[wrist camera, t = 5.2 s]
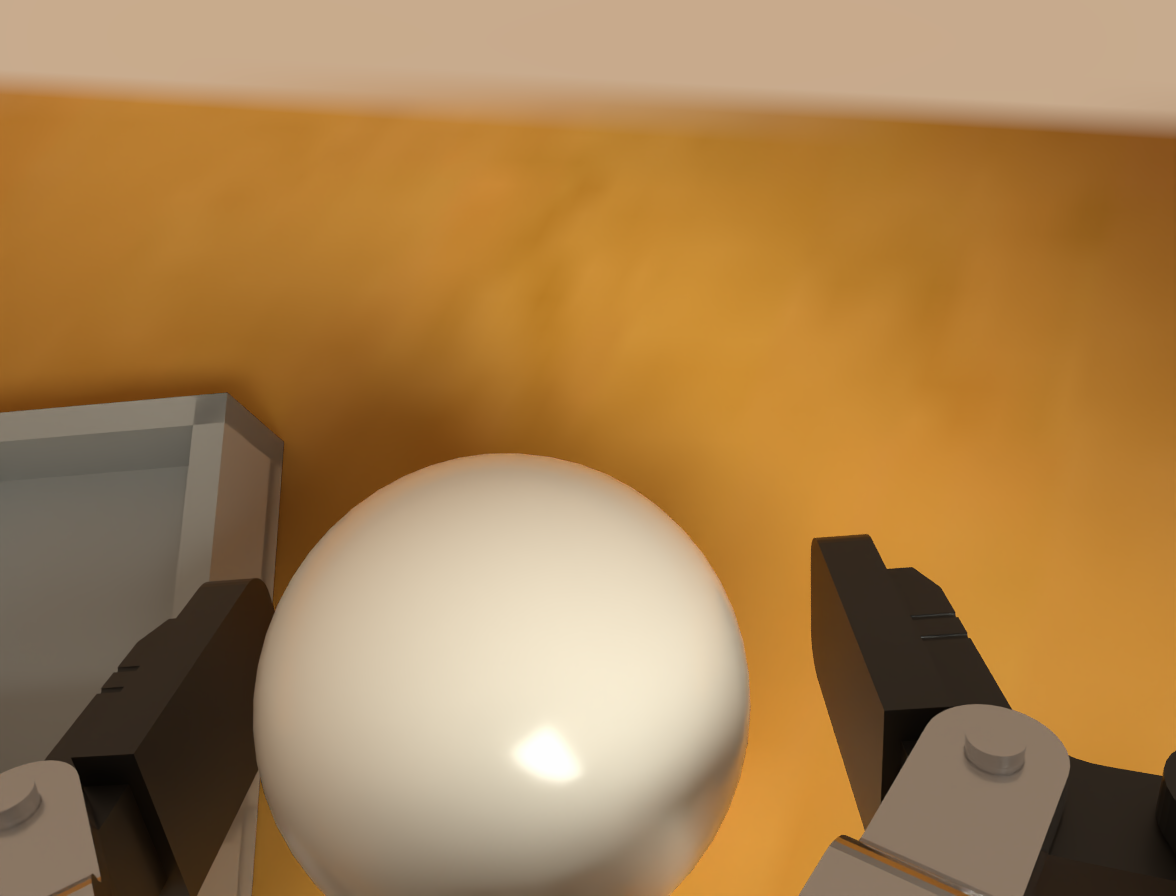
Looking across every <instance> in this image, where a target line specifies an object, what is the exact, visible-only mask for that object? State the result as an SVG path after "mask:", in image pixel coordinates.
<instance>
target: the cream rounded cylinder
mask: <svg viewBox="0 0 1176 896" xmlns="http://www.w3.org/2000/svg"><path fill="white" fill-rule="evenodd" d="M749 719H750V687H749V671H748V666H747V660H746V654H745V649H744V643H743V639H742V636H741V632H740V629H739V626H738V623H737V620H736V616H735V613H734V610H733V608H732V605H731V603H730V601H729V599H728V597H727V595H726V592H725V590H724V588H723V586H722V584H721V582H720V580H719V578H718V577H717V575H716V573H715V572H714V570H713V569H712V567H711V565H710V564H709V562H708V561H707V559H706V557H705V556H704V554H703V553H702V552H701V551H700V549H699V548H698V547H697V546H696V545H695V543H694V542H693V541H692V540H691V539H690V537H689V536H688V535H687V534H686V532H685V531H684V530H683V529H682V528H681V527H680V526H679V525H678V524H676V523H675V522H674V521H673V520H672V519H671V518H670V517H669V516H668V515H667V514H666V513H665V512H664V511H663V510H661V509H660V508H659V507H658V506H657V505H656V504H654V503H653V502H652V501H650V500H649V499H647V498H646V497H645V496H643V495H642V494H640V493H639V492H638V491H636V490H635V489H633V488H632V487H630V486H628V485H626V484H624V483H622V482H621V481H619V480H617V479H615V478H613V477H611V476H609V475H607V474H605V473H602V472H600V471H597V470H595V469H592V468H589V467H587V466H584V465H581V464H578V463H574V462H570V461H566V460H561V459H557V458H553V457H547V456H538V455H528V454H519V453H498V454H482V455H475V456H468V457H461V458H456V459H452V460H449V461H445V462H441V463H437V464H434V465H430V466H428V467H425V468H423V469H420V470H418V471H415V472H413V473H410V474H408V475H405V476H403V477H401V478H399V479H398V480H396V481H394V482H392V483H390V484H388V485H387V486H385V487H383V488H381V489H379V490H378V491H376V492H375V493H373V494H372V495H370V496H369V497H368V498H366V499H365V500H363V501H362V502H361V503H359V504H358V505H356V506H355V507H354V508H352V509H351V510H350V511H349V512H348V513H347V514H346V515H345V516H343V517H342V518H341V519H340V520H339V521H338V522H337V523H336V524H335V525H334V526H332V527H331V528H330V529H329V530H328V532H327V533H326V534H325V535H324V536H323V537H322V538H321V540H320V541H319V542H318V543H317V544H316V545H315V546H314V548H313V549H312V550H311V551H310V552H309V554H308V555H307V557H306V558H305V559H304V561H303V562H302V564H301V565H300V567H299V568H298V570H297V571H296V573H295V574H294V575H293V577H292V579H291V581H290V582H289V584H288V586H287V588H286V590H285V592H284V594H283V596H282V597H281V599H280V601H279V603H278V605H277V608H276V610H275V613H274V615H273V618H272V620H271V623H270V625H269V628H268V631H267V633H266V636H265V640H264V644H263V648H262V652H261V655H260V659H259V663H258V668H257V676H256V683H255V690H254V698H253V734H254V743H255V752H256V761H257V766H258V770H259V774H260V778H261V782H262V786H263V790H264V794H265V797H266V800H267V802H268V805H269V807H270V810H271V813H272V815H273V818H274V820H275V823H276V825H277V827H278V829H279V831H280V832H281V834H282V836H283V838H284V840H285V842H286V843H287V845H288V847H289V849H290V851H291V852H292V854H293V856H294V857H295V858H296V860H297V861H298V862H299V864H300V865H301V866H302V868H303V869H304V870H305V872H306V873H307V874H308V876H309V877H310V878H311V880H312V881H313V882H314V884H315V885H316V886H317V887H318V888H319V889H320V890H321V891H322V892H323V893H324V894H325V895H326V896H669V895H670V894H671V893H672V892H673V891H674V890H675V889H676V888H677V887H678V886H679V884H680V883H681V882H682V881H683V880H684V879H685V878H686V877H687V876H688V875H689V874H690V872H691V871H692V870H693V869H694V867H695V866H696V865H697V863H698V862H699V860H700V859H701V857H702V856H703V854H704V853H705V852H706V850H707V849H708V847H709V846H710V844H711V843H712V841H713V840H714V838H715V836H716V834H717V832H718V830H719V828H720V826H721V824H722V822H723V820H724V818H725V816H726V814H727V812H728V810H729V808H730V805H731V802H732V799H733V796H734V794H735V791H736V788H737V785H738V782H739V779H740V776H741V772H742V767H743V762H744V758H745V753H746V748H747V744H748V731H749Z"/></svg>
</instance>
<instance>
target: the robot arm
mask: <svg viewBox="0 0 1176 896" xmlns="http://www.w3.org/2000/svg"><path fill="white" fill-rule="evenodd" d="M274 613H275V611H274V607H273V604H272V600H271V597H270V594H269V591H268V588H267V586H266V585H265V583H264V582H263V581H262V580H261V579H259V578H249V579H236V580H222V581H209V582H205V583H203V584H202V585H201V586H200V587H199V588H198V590H197V591H196V592H195V594H194V595H193V596H192V598H191V599H190V600H189V602H188V603H187V604H186V606H185V607H184V608H183V610H182V611H181V612H180V614H179V615H178V616H177V618H173V619H168V620H167V621H165V622H164V623H163V624H161V625H160V626H158V627H157V628H156V629H154V630H153V631H152V632H150V633H149V634H148V635H146V636H145V637H144V638H142V639H141V640H139V641H138V642H137V643H136V644H135V646H134V647H133V648H132V650H131V651H130V652H129V653H128V655H127V656H126V657H125V658H124V660H123V661H122V662H121V663H120V665H119V666H118V667H117V668H118V671H117V672H113V674H112V675H111V676H110V677H109V679H108V680H107V681H106V682H105V684H104V685H103V686H102V688H101V693H99V694H96V695H95V696H94V698H93V699H92V700H91V701H90V703H89V704H88V705H87V707H86V708H85V709H84V710H83V712H82V713H81V714H80V715H79V717H78V718H77V719H76V720H75V722H74V723H73V724H72V726H71V727H70V728H69V729H68V731H67V732H66V733H65V734H64V736H63V737H62V738H61V740H60V741H59V742H58V743H57V745H56V746H55V747H54V748H53V750H52V751H51V752H50V753H49V755H48V756H47V757H46V759H45V760H44V761H38V762H33V763H28V764H25V765H21V766H18V767H15V768H12V769H10V770H7V771H5V772H3V773H1V774H0V896H197V895H198V893H199V891H200V889H201V887H202V885H203V883H204V881H205V878H206V876H207V874H208V872H209V870H210V868H211V866H212V864H213V862H214V860H215V858H216V856H217V854H218V852H219V850H220V848H221V846H222V844H223V842H224V840H225V837H226V835H227V833H228V831H229V829H230V827H231V825H232V823H233V821H234V819H235V817H236V815H237V813H238V811H239V809H240V807H241V805H242V803H243V801H244V799H245V796H246V794H247V792H248V790H249V788H250V786H251V784H252V782H253V780H254V778H255V776H256V774H257V772H258V766H257V761H256V752H255V743H254V734H253V698H254V690H255V683H256V676H257V668H258V663H259V659H260V655H261V652H262V648H263V644H264V640H265V636H266V633H267V631H268V628H269V625H270V623H271V620H272V618H273V615H274ZM811 638H812V650H813V658H814V664H815V669H816V674H817V678H818V681H819V684H820V688H821V691H822V694H823V697H824V700H825V704H826V707H827V710H828V713H829V717H830V720H831V723H832V726H833V729H834V733H835V736H836V739H837V742H838V746H839V749H840V752H841V755H842V758H843V762H844V765H845V768H846V771H847V775H848V778H849V781H850V784H851V787H852V791H853V794H854V797H855V800H856V804H857V807H858V810H859V813H860V816H861V820H862V823H863V826H864V829H865V832H864V834H863V835H862V837H861V838H860V840H859V841H857V840H855V839H853V838H851V837H848V836H846V835H841V836H839V837H837V838H836V839H835V840H834V841H833V842H832V843H831V845H830V846H829V847H828V849H827V850H826V852H825V853H824V855H823V857H822V858H821V860H820V862H819V863H818V865H817V866H816V868H815V870H814V871H813V873H812V875H811V876H810V878H809V880H808V881H807V883H806V884H805V886H804V888H803V889H802V891H801V893H800V894H799V896H1176V751H1175V752H1173V753H1172V754H1171V755H1170V756H1169V758H1168V759H1167V761H1166V764H1165V767H1164V771H1163V776H1159V775H1153V774H1147V773H1142V772H1136V771H1130V770H1124V769H1118V768H1113V767H1107V766H1102V765H1097V764H1093V763H1089V762H1086V761H1082V760H1079V759H1076V758H1073V757H1071V756H1069V755H1068V753H1067V750H1066V749H1065V747H1064V745H1063V744H1062V742H1061V741H1060V740H1059V739H1058V737H1057V736H1056V735H1055V734H1054V733H1053V732H1052V731H1050V730H1049V729H1048V728H1047V727H1046V726H1044V725H1043V724H1041V723H1040V722H1038V721H1037V720H1035V719H1033V718H1031V717H1029V716H1027V715H1025V714H1022V713H1020V712H1017V711H1014V710H1012V709H1011V707H1010V705H1009V704H1008V702H1007V700H1006V698H1005V697H1004V695H1003V693H1002V692H1001V690H1000V688H999V686H998V685H997V683H996V681H995V680H994V678H993V676H992V674H991V673H990V671H989V669H988V668H987V666H986V664H985V662H984V661H983V659H982V657H981V656H980V654H979V652H978V651H977V649H976V647H975V645H974V644H973V642H972V640H971V639H970V638H968V637H967V632H966V630H965V628H964V627H963V625H962V623H961V621H960V620H959V618H958V617H956V616H955V611H954V609H953V608H952V606H951V604H950V603H949V601H948V599H947V597H946V596H945V594H944V592H943V591H942V589H941V587H939V586H938V585H936V584H935V583H934V582H932V581H931V580H930V579H928V578H927V577H925V576H924V575H923V574H921V573H920V572H918V571H917V570H916V569H914V568H913V567H909V568H895V569H886V567H885V565H884V563H883V561H882V559H881V557H880V555H879V553H878V551H877V549H876V547H875V545H874V543H873V541H872V539H871V537H870V536H869V535H868V534H862V535H849V536H835V537H822V538H814V539H813V540H812V545H811Z"/></svg>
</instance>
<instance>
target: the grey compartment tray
mask: <svg viewBox="0 0 1176 896" xmlns="http://www.w3.org/2000/svg"><path fill="white" fill-rule="evenodd" d="M283 448H284V442H283V441H282V440H281V439H280V438H279V437H277V436H276V435H275V434H274V433H273V432H272V431H271V430H269V429H268V428H267V427H266V426H265V425H264V424H263V423H262V422H260V421H259V420H258V419H257V418H256V417H255V416H254V415H252V414H251V413H250V412H249V411H248V410H247V409H246V408H244V407H243V406H242V405H241V404H240V403H239V402H238V401H236V400H235V399H234V398H233V397H232V396H231V395H230V394H228V393H217V394H206V395H194V396H183V397H172V398H161V399H149V400H138V401H127V402H115V403H104V404H93V405H82V406H70V407H59V408H48V409H37V410H25V411H14V412H3V413H0V774H1V773H3V772H5V771H7V770H10V769H12V768H15V767H18V766H21V765H25V764H28V763H33V762H38V761H44V760H45V759H46V757H47V756H48V755H49V753H50V752H51V751H52V750H53V748H54V747H55V746H56V745H57V743H58V742H59V741H60V740H61V738H62V737H63V736H64V734H65V733H66V732H67V731H68V729H69V728H70V727H71V726H72V724H73V723H74V722H75V720H76V719H77V718H78V717H79V715H80V714H81V713H82V712H83V710H84V709H85V708H86V707H87V705H88V704H89V703H90V701H91V700H92V699H93V698H94V696H95V695H96V694H99V693H101V688H102V686H103V685H104V684H105V682H106V681H107V680H108V679H109V677H110V676H111V675H112V674H113V672H117V671H118V668H117V667H118V666H119V665H120V663H121V662H122V661H123V660H124V658H125V657H126V656H127V655H128V653H129V652H130V651H131V650H132V648H133V647H134V646H135V644H136V643H137V642H138V641H139V640H141V639H142V638H144V637H145V636H146V635H148V634H149V633H150V632H152V631H153V630H154V629H156V628H157V627H158V626H160V625H161V624H163V623H164V622H165V621H167V620H168V619H173V618H177V616H178V615H179V614H180V612H181V611H182V610H183V608H184V607H185V606H186V604H187V603H188V602H189V600H190V599H191V598H192V596H193V595H194V594H195V592H196V591H197V590H198V588H199V587H200V586H201V585H202V584H203V583H205V582H209V581H222V580H236V579H249V578H259V579H261V580H262V581H263V582H264V583H265V585H266V586H267V588H268V591H269V594H270V597H271V600H272V602H273V588H274V574H275V560H276V546H277V532H278V518H279V504H280V490H281V476H282V462H283ZM259 784H260V774H259V770H258V772H257V774H256V776H255V778H254V780H253V782H252V784H251V786H250V788H249V790H248V792H247V794H246V796H245V799H244V801H243V803H242V805H241V807H240V809H239V811H238V813H237V815H236V817H235V819H234V821H233V823H232V825H231V827H230V829H229V831H228V833H227V835H226V837H225V840H224V842H223V844H222V846H221V848H220V850H219V852H218V854H217V856H216V858H215V860H214V862H213V864H212V866H211V868H210V870H209V872H208V874H207V876H206V878H205V881H204V883H203V885H202V887H201V889H200V891H199V893H198V895H197V896H252V882H253V868H254V854H255V840H256V826H257V812H258V798H259Z"/></svg>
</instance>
